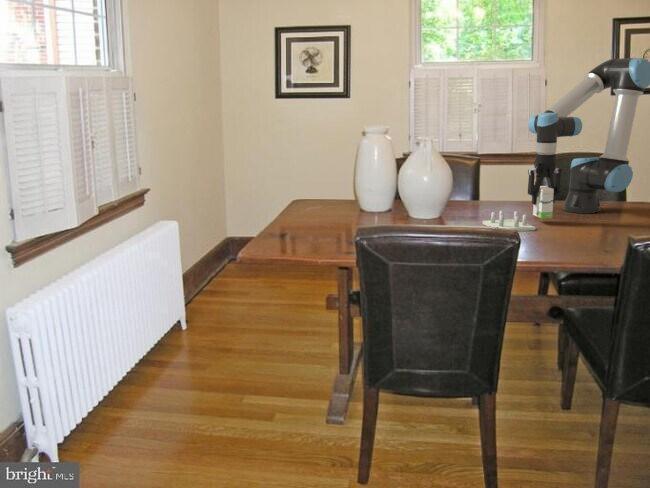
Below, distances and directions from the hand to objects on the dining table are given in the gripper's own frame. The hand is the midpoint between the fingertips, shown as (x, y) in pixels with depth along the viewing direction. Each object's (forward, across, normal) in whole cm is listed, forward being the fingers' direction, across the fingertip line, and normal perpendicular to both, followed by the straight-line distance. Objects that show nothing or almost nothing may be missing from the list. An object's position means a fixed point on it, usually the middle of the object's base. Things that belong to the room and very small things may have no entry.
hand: (542, 211), depth 278 cm
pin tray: (+4, +17, +4) cm, 18 cm away
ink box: (+2, 0, 0) cm, 2 cm away
